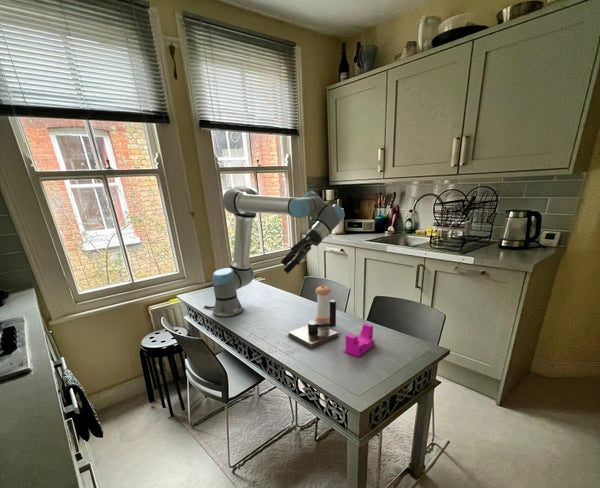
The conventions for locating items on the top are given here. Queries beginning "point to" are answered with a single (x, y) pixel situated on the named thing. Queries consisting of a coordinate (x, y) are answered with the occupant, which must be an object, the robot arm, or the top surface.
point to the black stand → (315, 325)
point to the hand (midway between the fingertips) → (284, 268)
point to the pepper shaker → (323, 305)
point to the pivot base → (313, 336)
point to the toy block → (360, 341)
